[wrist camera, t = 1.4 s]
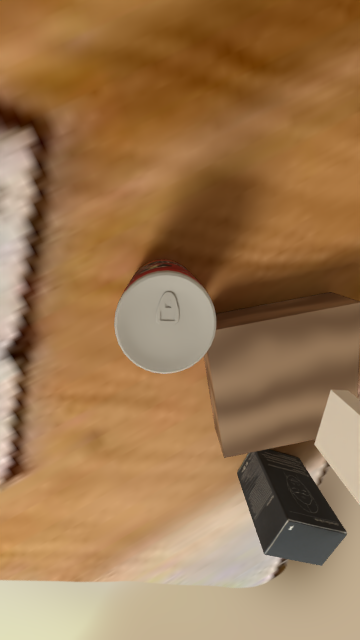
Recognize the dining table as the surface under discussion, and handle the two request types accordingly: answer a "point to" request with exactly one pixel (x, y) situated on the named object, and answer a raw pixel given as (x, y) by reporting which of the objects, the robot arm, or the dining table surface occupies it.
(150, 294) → the canned food
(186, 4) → the dining table surface
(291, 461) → the box
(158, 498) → the dining table surface
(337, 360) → the brown wooden block
